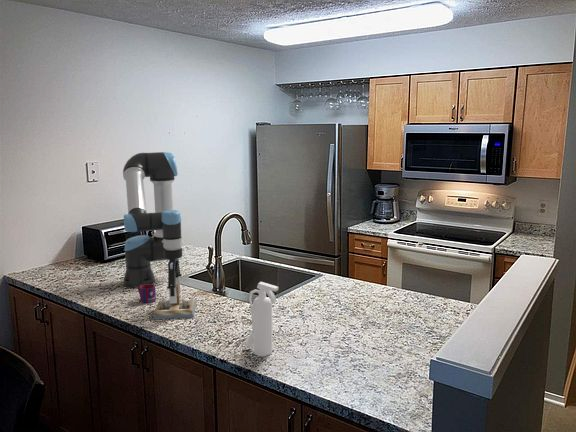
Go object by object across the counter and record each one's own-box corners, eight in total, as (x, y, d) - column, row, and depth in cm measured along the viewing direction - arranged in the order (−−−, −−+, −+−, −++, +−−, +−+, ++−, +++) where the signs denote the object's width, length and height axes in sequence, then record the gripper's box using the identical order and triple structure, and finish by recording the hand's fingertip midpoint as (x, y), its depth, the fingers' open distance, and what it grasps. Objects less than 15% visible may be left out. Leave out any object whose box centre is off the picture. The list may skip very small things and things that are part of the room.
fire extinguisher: (251, 342, 165) (251, 276, 160) (280, 351, 160) (281, 283, 154) (240, 350, 160) (240, 282, 154) (270, 360, 154) (271, 289, 148)
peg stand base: (194, 304, 199) (193, 282, 197) (192, 314, 188) (191, 290, 187) (159, 305, 198) (157, 283, 196) (154, 316, 187) (153, 292, 185)
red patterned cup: (145, 304, 202) (144, 290, 201) (134, 299, 209) (133, 284, 208) (158, 300, 207) (158, 286, 206) (147, 295, 214) (146, 281, 212)
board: (159, 304, 202) (159, 294, 201) (196, 302, 204) (196, 292, 203) (153, 319, 187) (152, 307, 186) (193, 317, 188) (193, 306, 188)
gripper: (167, 241, 202) (170, 287, 206) (158, 256, 178) (161, 308, 182) (185, 240, 202) (187, 287, 206) (178, 255, 178) (181, 307, 182)
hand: (175, 297), depth 194 cm, fingers open, 12 cm apart
